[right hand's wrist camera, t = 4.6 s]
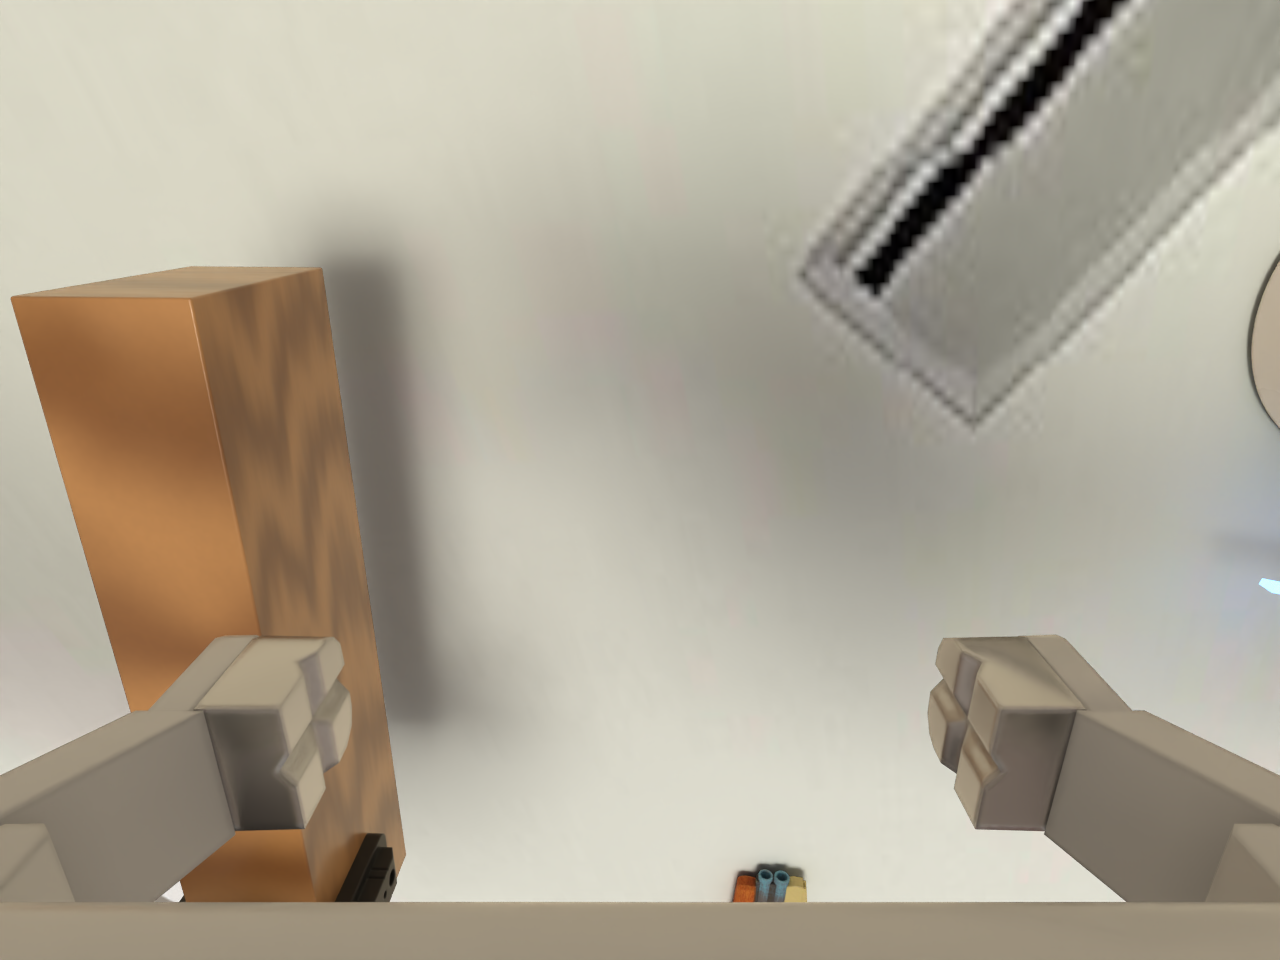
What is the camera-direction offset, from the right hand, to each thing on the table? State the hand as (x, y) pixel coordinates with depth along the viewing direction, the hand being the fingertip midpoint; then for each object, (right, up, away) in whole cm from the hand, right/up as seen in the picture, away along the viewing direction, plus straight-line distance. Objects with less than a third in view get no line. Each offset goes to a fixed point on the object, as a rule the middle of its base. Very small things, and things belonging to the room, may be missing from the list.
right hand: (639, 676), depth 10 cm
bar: (-14, -3, +21) cm, 25 cm away
